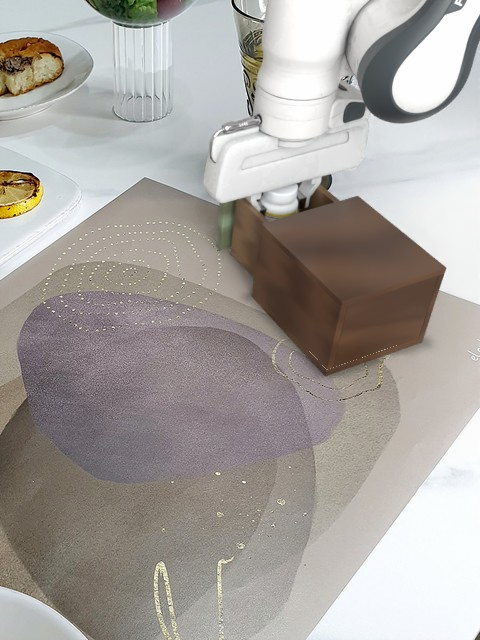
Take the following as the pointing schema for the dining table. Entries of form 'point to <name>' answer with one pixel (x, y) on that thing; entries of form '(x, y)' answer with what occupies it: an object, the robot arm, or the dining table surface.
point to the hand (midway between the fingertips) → (277, 212)
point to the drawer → (253, 226)
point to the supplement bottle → (280, 202)
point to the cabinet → (345, 283)
